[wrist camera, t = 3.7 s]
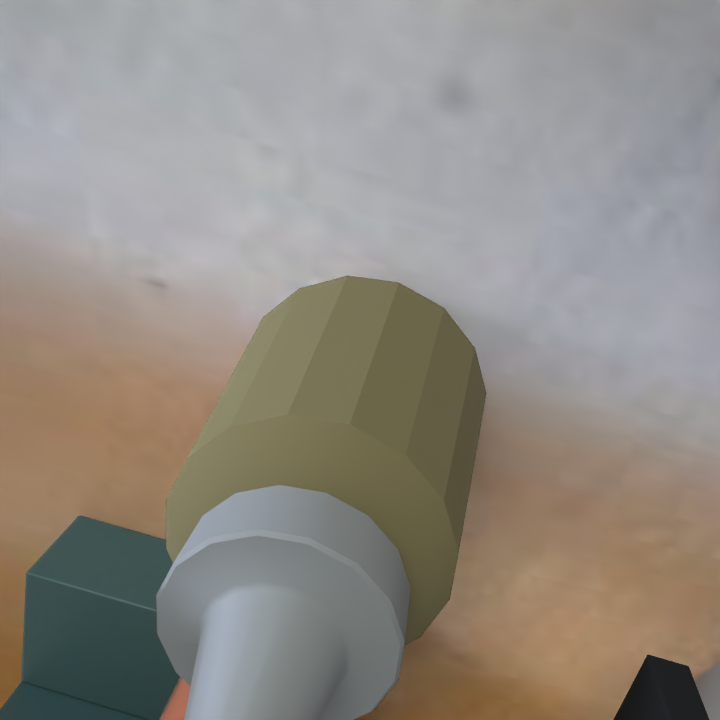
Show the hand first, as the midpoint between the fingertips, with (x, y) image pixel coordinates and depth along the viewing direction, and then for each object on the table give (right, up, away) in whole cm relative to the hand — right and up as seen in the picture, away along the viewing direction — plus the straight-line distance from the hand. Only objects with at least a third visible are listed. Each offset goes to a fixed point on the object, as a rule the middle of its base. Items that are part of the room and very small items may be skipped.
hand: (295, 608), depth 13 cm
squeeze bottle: (+2, +5, +12) cm, 14 cm away
